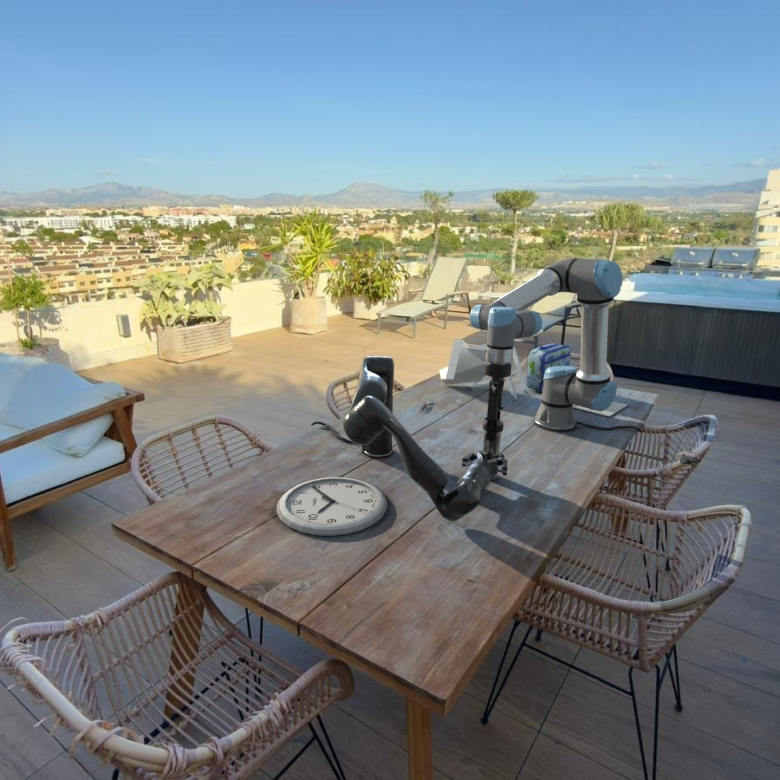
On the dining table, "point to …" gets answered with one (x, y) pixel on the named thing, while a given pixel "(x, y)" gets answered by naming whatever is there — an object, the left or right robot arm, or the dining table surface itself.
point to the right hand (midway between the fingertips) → (492, 435)
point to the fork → (427, 403)
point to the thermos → (491, 449)
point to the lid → (498, 428)
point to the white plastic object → (474, 366)
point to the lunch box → (545, 363)
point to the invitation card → (609, 411)
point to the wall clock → (331, 506)
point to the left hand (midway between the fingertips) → (492, 454)
